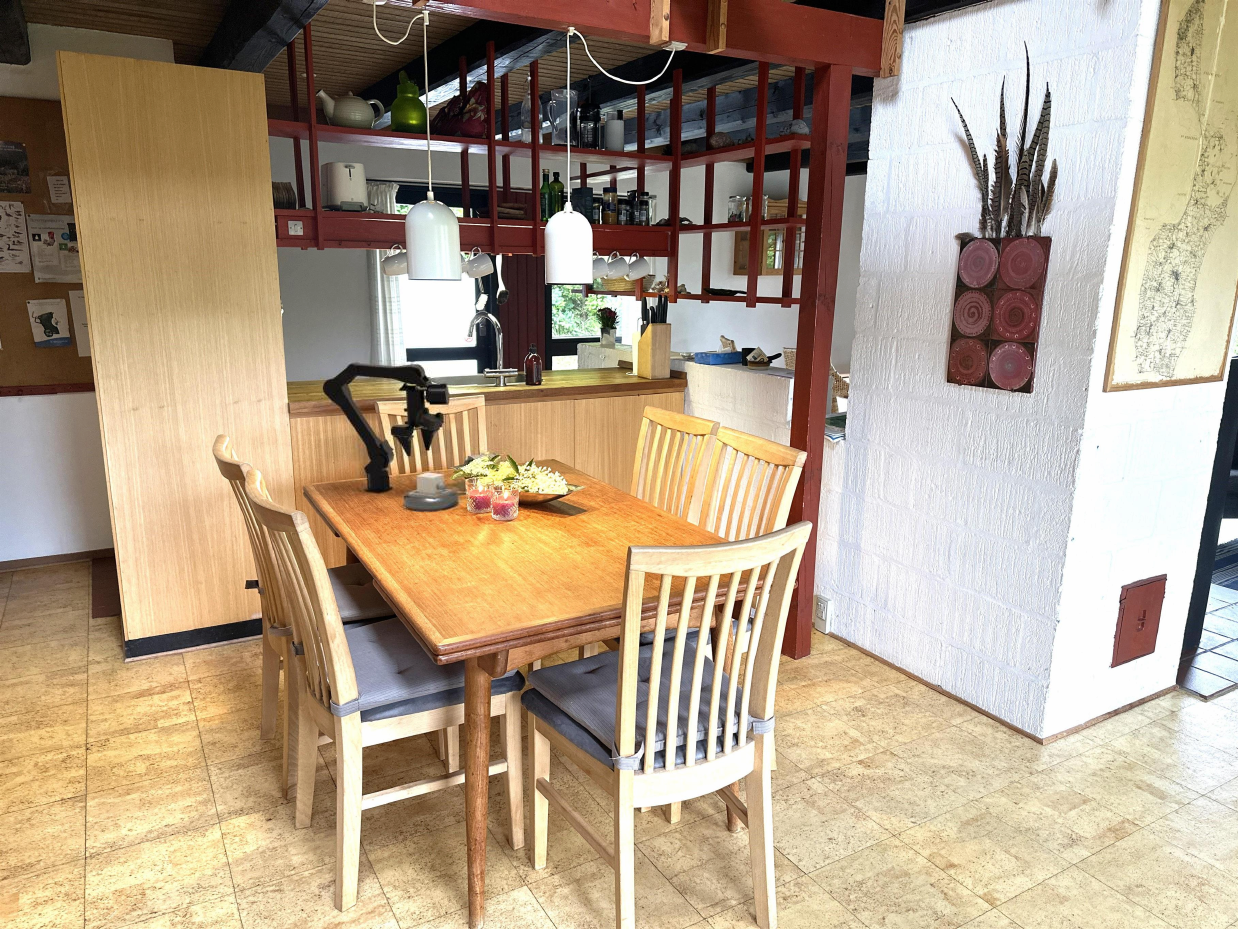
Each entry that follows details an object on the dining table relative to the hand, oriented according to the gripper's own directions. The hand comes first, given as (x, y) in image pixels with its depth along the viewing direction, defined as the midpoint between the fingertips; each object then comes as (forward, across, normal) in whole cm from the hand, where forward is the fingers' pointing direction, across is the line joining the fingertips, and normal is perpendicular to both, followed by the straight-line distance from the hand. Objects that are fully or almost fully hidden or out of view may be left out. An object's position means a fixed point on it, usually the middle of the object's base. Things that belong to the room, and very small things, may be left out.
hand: (418, 453), depth 270 cm
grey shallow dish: (+12, -12, -14) cm, 22 cm away
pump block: (+9, -12, -14) cm, 20 cm away
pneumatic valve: (+12, +10, -18) cm, 24 cm away
